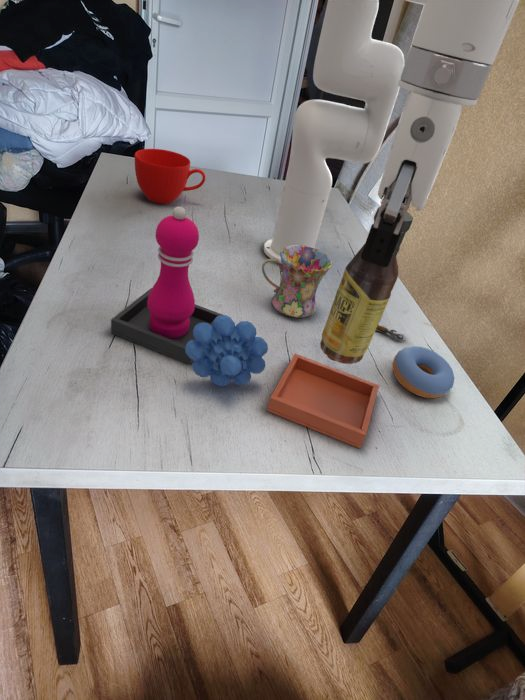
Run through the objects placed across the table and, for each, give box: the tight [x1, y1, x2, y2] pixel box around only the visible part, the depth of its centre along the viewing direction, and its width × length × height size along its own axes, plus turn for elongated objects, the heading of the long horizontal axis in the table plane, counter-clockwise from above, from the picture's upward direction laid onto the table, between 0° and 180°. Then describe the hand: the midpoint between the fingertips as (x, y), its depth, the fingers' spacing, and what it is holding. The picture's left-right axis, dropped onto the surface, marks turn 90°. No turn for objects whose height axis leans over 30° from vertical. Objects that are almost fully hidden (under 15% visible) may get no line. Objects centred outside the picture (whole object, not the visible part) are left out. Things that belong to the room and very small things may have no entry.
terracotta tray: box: [266, 353, 380, 449], centre depth 69 cm, size 12×14×3 cm
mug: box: [261, 245, 333, 319], centre depth 86 cm, size 12×9×11 cm
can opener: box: [375, 324, 406, 342], centre depth 88 cm, size 9×2×1 cm, turn 60°
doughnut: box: [392, 345, 455, 399], centre depth 77 cm, size 10×10×5 cm
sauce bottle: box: [319, 206, 414, 365], centre depth 58 cm, size 6×6×20 cm
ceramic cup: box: [134, 148, 206, 205], centre depth 116 cm, size 13×17×10 cm
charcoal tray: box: [110, 287, 224, 365], centre depth 76 cm, size 12×14×3 cm
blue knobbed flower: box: [185, 314, 269, 388], centre depth 65 cm, size 12×7×12 cm, turn 102°
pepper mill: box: [147, 206, 200, 338], centre depth 71 cm, size 7×7×20 cm
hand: (378, 252), depth 55 cm, fingers closed on sauce bottle, 4 cm apart
